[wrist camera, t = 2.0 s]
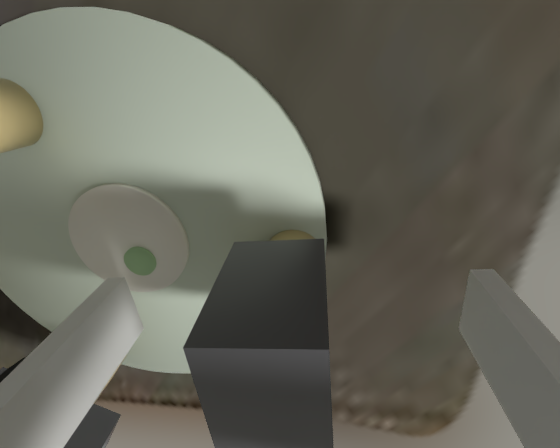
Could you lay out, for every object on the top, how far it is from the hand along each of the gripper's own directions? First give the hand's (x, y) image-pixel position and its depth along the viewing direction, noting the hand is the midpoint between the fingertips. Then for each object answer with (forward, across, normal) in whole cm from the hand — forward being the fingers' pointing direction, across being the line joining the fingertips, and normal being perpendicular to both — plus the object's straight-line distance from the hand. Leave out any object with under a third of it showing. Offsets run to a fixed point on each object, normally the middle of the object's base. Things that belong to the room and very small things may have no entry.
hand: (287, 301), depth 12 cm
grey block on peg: (+3, 0, 0) cm, 3 cm away
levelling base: (+5, -8, +1) cm, 10 cm away
